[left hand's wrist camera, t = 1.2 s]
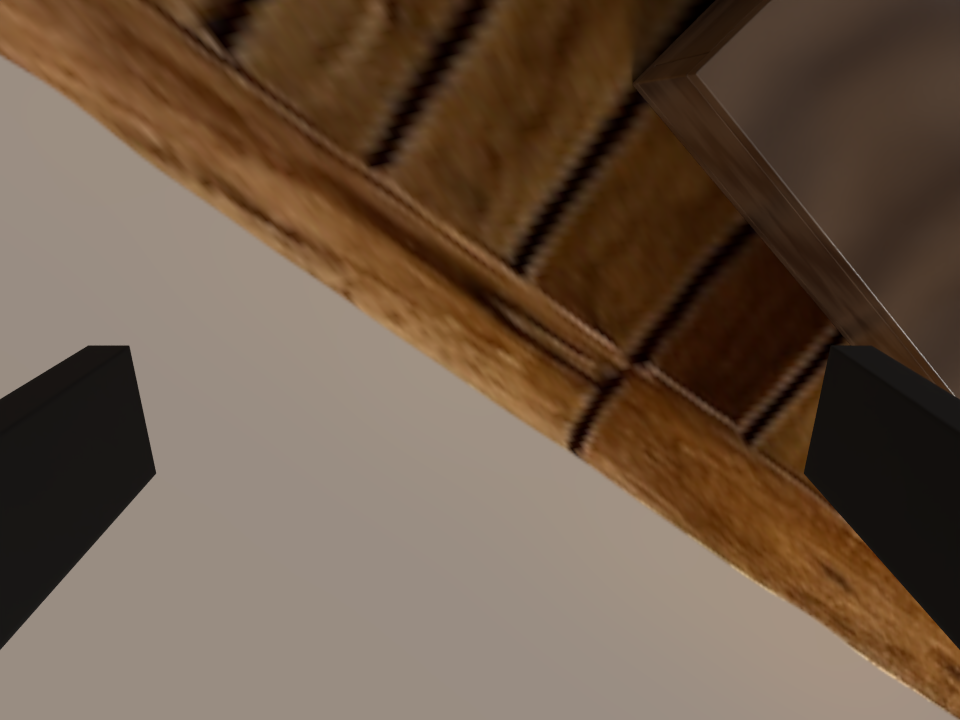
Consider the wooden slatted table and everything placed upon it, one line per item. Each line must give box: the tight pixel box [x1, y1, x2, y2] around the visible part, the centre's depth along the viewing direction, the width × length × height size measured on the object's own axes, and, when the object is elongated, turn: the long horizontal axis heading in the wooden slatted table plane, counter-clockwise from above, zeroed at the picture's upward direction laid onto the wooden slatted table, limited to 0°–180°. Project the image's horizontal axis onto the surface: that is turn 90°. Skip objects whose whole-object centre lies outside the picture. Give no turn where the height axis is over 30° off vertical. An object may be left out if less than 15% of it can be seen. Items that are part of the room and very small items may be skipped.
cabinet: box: [633, 0, 960, 399], centre depth 27 cm, size 20×12×10 cm, turn 45°
